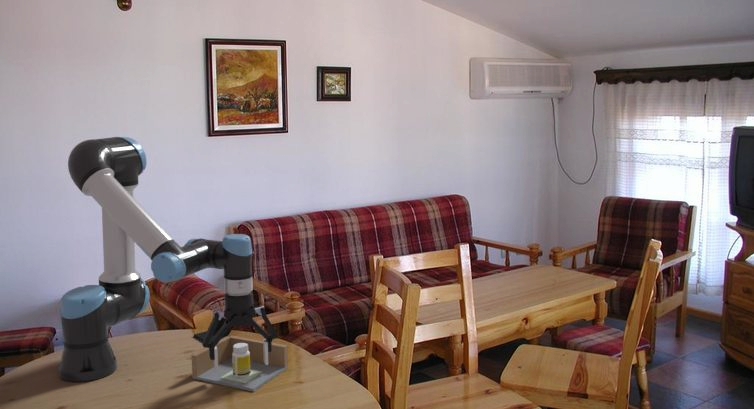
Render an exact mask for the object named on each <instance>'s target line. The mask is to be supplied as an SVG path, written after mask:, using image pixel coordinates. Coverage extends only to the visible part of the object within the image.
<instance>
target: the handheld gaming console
mask: <svg viewBox="0 0 754 409" xmlns="http://www.w3.org/2000/svg"><path fill="white" fill-rule="evenodd" d="M226 320H227V319H226V318H225V317H224V316H223V317H222V318H221V320H219V321H218V324H217V327H216V329H215V331H214V333H213V335H212V337H211V340H212V339H213V337H214V336H215V335H216V333H217V332H218V331H219V330H220V328H221V327H222V326H223V324H224V322H225V321H226ZM234 327H235V326H232V327H231V328H230V329H229V330H228V331H227V332H226V333H225V335H224V336H223V337H222V339H223V338H224V337H226V336H228V335H231V332H232V330H233V329H234ZM206 332H207V330H205V331H202V332H198V333H194V334H193V337H194V338H195V337H196V339H197V340H198V339H199V340H198V341H200V340H201V341H200V342H202V341H203V339H204V337H205V334H206ZM211 340H210V341H211Z"/></svg>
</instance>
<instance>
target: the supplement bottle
mask: <svg viewBox="0 0 754 409" xmlns="http://www.w3.org/2000/svg"><path fill="white" fill-rule="evenodd" d="M233 351H234V352H233V353H232V364H233V375H234V376H235V377H239V378H242V377H247V376H249V375H250V372H251V371H250V352H249V351H248V344H246V343H237V344H235V345H234V346H233Z"/></svg>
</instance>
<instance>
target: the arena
mask: <svg viewBox="0 0 754 409" xmlns="http://www.w3.org/2000/svg"><path fill="white" fill-rule="evenodd" d="M237 343H246V344H248V351H249V352H250V371H251V372H250V375H249V376H247V377H242V378H239V377H235V376H234V375H233V364H232V353H233V352H234V351H233V346H234V345H235V344H237ZM271 344H272V351H271V352H268V365H265V363H264V354H263V340H260V339H255V338H250V337H249V338H248V337H243V336H236V335H231V334H229V335H228V336H226V337H224V338H223V339H221V340H220V341H219V342H218V344H217V345H216V347H217V351H218V372H215V370H214V360H211V359H210V355H209V348H207V347H206V348H204V347H203V348H202V349H200V350H198V351H196V352H194V353H193V354H191V373H192V374H191V375H192V380H197V381H201V380H202V382H207V383H212V384H214V385H215V384H217V385H222V386H225V387H229V388H234V389H235V388H236V389H239V390H245V391H249V392H252V393H254V392H256V391H257V390H259V389H260V388H261V387H263V386H264V385H267V383H268V382H270V381H272V380H273V379H275V378H276V377H277V376H279V375H280V374H281V373H283V372H285V370H288V369H289V359H288V358H289V356H288V355H289V354H288V351H289V350H288V345H287V344H281V343H276V342H271Z"/></svg>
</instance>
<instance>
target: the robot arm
mask: <svg viewBox="0 0 754 409" xmlns="http://www.w3.org/2000/svg"><path fill="white" fill-rule="evenodd" d="M146 155H147V154H146V152H145V150H144V148H143V147H142V145H141V144H139V141H137V140H136V139H133V137H127V136H113V137H105V138H104V137H103V138H97V139H94V138H93V139H86V140H83V141H80V142H78V143H77V145H75V146H74V147H73V148H72V150H71V152H70V154H69V156H68V160H67V170H68V173H69V175H70V178H71V180H72V181H73V184H74V185H75V186H76V187H77V188H78V189H79V191H80V192H81V193H82V194H83V195H84V196H86V197H87V196H88V197H92V199H93V200H94V201H95V202H96V203H97V204H98V205H99V206H100V207H101V220H102V222H101V223H102V226H101V227H102V249H103V250H102V251H103V252H102V253H103V272H102V273H101V274H100V275H99V276H98V284H88V285H84V286H77V287H75V288H72V289H70V290H68V291H67V292H65V293H64V294H63V295H62V297H61V299H60V309H59V312H60V319H61V329H62V340H63V341H62V342H63V350H62V354H61V359H60V363H59V365H58V376H59V378H60V379H61V380H63V381H67V382H73V383H75V382H79V383H80V382H89V381H93V380H94V381H95V380H98V379H103V378H104V377H107V376H109V375H111V374H113V373H114V372H115V371H116V370H117V368H118V365H117V364H118V362H117V360H118V359H117V356H115V353H114V350H113V348H112V346H111V344H110V341H109V328H112V327H114V326H116V325H118V324H121V323H123V322H125V321H128V320H131V319H134V318H135V317H136V316H138V315H141V314H142V313H143V312H144V311H145V310H146V309H147V307H148V305H149V303H150V302H149V301H150V295H151V294H150V289H149V287H148V285H146V284H147V283H146V281H145V280H144V279H143V278H142V277H141V272H138V271H137V270H136V255H135V254H136V250H135V245H136V246H138V247H139V249H141V251H142V252H143V253H144V254H145V255H146V256H147V257H148V258H149V259H150V260H151V263H150V269H151V271H152V273H153V276H154V278H155V279H156V280H157V281H158V282H161V283H171V282H174V281H179V280H181V279H182V278H185V277H187V276H189V275H192V274H196V273H198V272H201V271H203V270H206V269H217V270H223V282H224V284H223V285H224V286H223V287H224V288H223V289H224V290H223V291H224V292H225V293H224V311H218V310H213V313H212V320H211V322H210V324H209V326H208V328H207V330H206V331H207V332H206V331H205V332H206V334H205V337H204V339H203V341H201V345H202V347H203V349H204V348H206V347H207V348H209V355H210V359H211V360H214V370H215V372H218V351H217V347H216V345H217V344H218V342H219V341H220V340H221V339H222V337H223V336H224V335H225V333H226V332H227V331H228V330H229V329H230V328H231V327H232V326H234V327H235V328H236V327H240V326H241V327H245V326H247V325H248V324H249V325H250V326H252V327H253V328H254V329H255V331H257V332H258V333H259V334H260V335H261V336H262V337H263V338H264V339H262V341H263V354H264V363H265V365H268V352H271V351H272V344H271V343H273V340H275V339H278V338H279V335H278V333H277V332H276V330H275V328H274V326H273V324H272V323H271V321H270V319H269V317H268V316H267V312H266V308H265V307H264V305H262V304H261V305H259V307H254V293H253V289H254V285H253V249H252V240H251V237H250V236H249V235H247V234H243V233H232V234H227V235H225V236H223V238H222V241H221V240H216V239H215V240H214V239H206V238H203V237H202V238H191V239H189V240H187V242H186V243H184V246H180V245H179V243H177V242H176V241H175V240H174V239H173V238H172V236H170V234H169V233H167V231H166V230H165V229H164V228H163V227H162V226H161V225H160V224H159V223H158V222H157V221H156V220H155V218H153V217H152V215H151V214H150V213H148V211H146V209H145V208H144V207H143V206H142V205H141V204H140V203H139V202H138V201H137V200H136V199H135V197H134V190H135V189H136V188H137V187H138V185H139V176H140V175H141V174H143V173H144V171H145V170H146V168H147V163H148V162H147V156H146ZM256 314H258V316H260V317H261V318H262V320H263V321H264V324H266V326H267V328H268V330H269V332H270V333H268V332H267V331H266V330H265V329H264V328H263V327H262V326H261V325H260V324H259V323H257V321H256V320H255V319H254V317H255V315H256ZM222 317H223V318H225V319H227V320H226V321H225V322H224V324H223V326H222V327H221V328H220V330H219V331H218V332H217V333H216V335H215V336H214V337H213V339H212V340H211V337H212V335H213V333H214V331H215V329H216V327H217V324H218V321H219V320H221V318H222ZM210 340H211V341H210Z"/></svg>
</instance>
